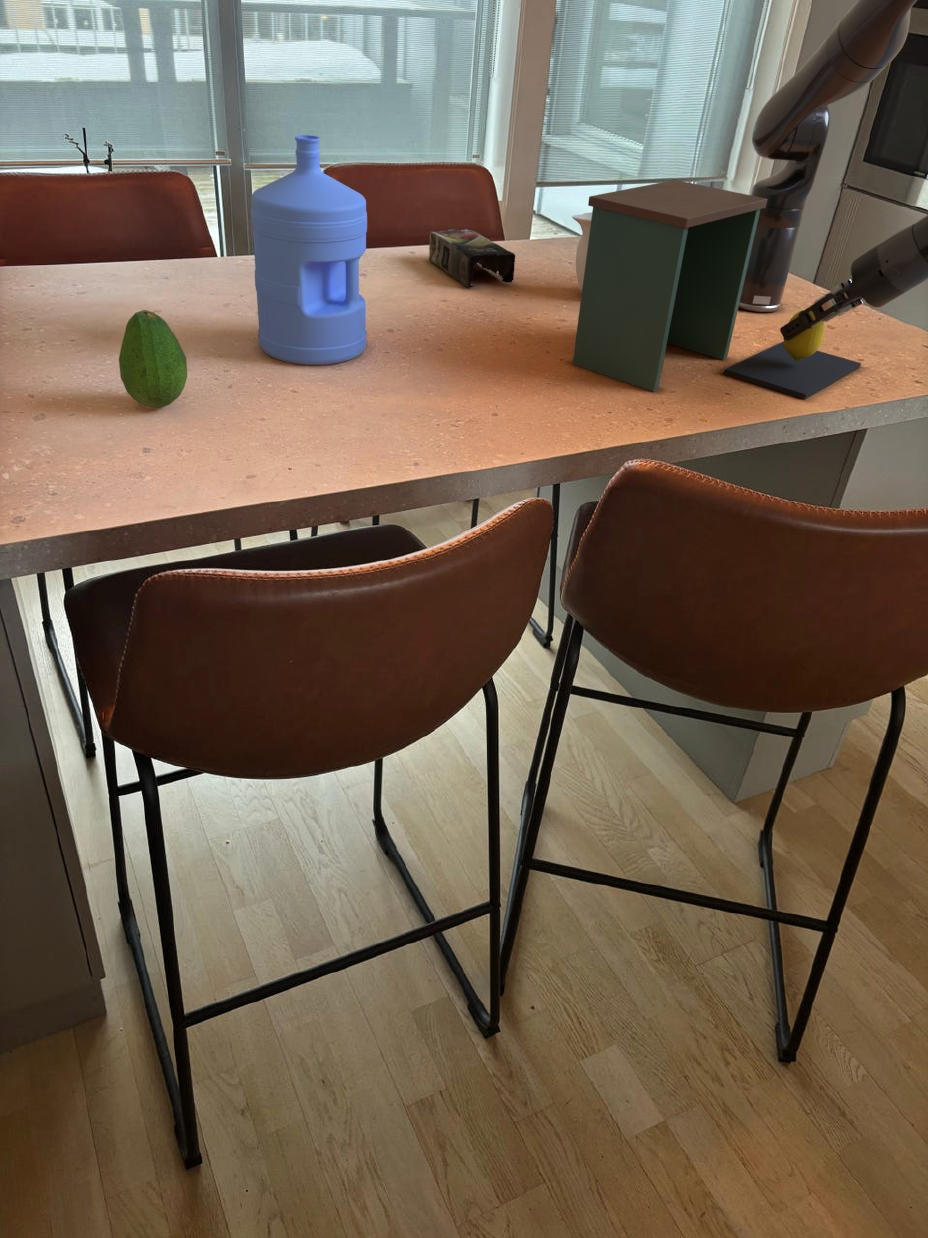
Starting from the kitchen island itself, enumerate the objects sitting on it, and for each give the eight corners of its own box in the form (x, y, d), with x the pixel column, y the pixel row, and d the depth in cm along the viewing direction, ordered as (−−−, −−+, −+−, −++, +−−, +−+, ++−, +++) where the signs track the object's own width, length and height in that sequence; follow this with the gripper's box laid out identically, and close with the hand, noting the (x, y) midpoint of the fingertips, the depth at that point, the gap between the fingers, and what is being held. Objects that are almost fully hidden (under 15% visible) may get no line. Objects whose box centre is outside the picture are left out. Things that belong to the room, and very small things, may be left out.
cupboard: (648, 333, 155) (675, 179, 142) (731, 358, 148) (767, 198, 134) (567, 363, 141) (588, 196, 128) (654, 393, 133) (687, 218, 120)
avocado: (129, 421, 115) (115, 322, 108) (121, 397, 121) (106, 302, 114) (196, 414, 118) (186, 317, 111) (185, 391, 123) (175, 298, 117)
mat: (782, 345, 154) (784, 340, 154) (859, 367, 148) (861, 362, 147) (723, 373, 142) (724, 368, 141) (804, 399, 135) (806, 394, 134)
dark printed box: (423, 258, 184) (425, 225, 181) (469, 257, 188) (472, 224, 184) (466, 290, 169) (468, 254, 166) (515, 287, 173) (518, 252, 170)
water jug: (238, 354, 136) (222, 137, 120) (291, 324, 148) (283, 123, 132) (337, 374, 132) (334, 152, 116) (383, 341, 144) (386, 136, 128)
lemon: (796, 369, 141) (810, 315, 136) (770, 357, 145) (783, 303, 140) (823, 365, 143) (838, 311, 138) (797, 353, 147) (811, 300, 142)
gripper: (902, 233, 134) (801, 299, 147) (862, 248, 125) (758, 317, 138) (927, 281, 134) (824, 342, 147) (889, 299, 125) (783, 363, 138)
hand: (792, 330), depth 142 cm, fingers closed on lemon, 5 cm apart
